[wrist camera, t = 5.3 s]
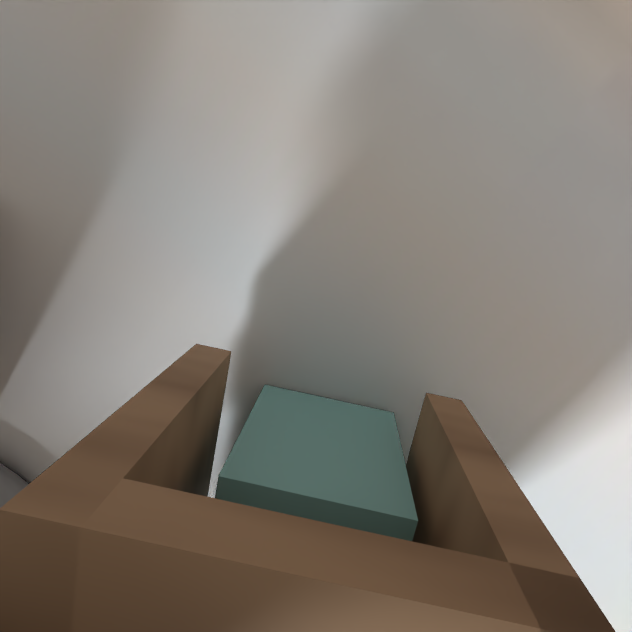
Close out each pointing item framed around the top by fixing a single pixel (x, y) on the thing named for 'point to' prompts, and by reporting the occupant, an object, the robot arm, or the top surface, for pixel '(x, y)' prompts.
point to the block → (321, 464)
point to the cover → (272, 537)
